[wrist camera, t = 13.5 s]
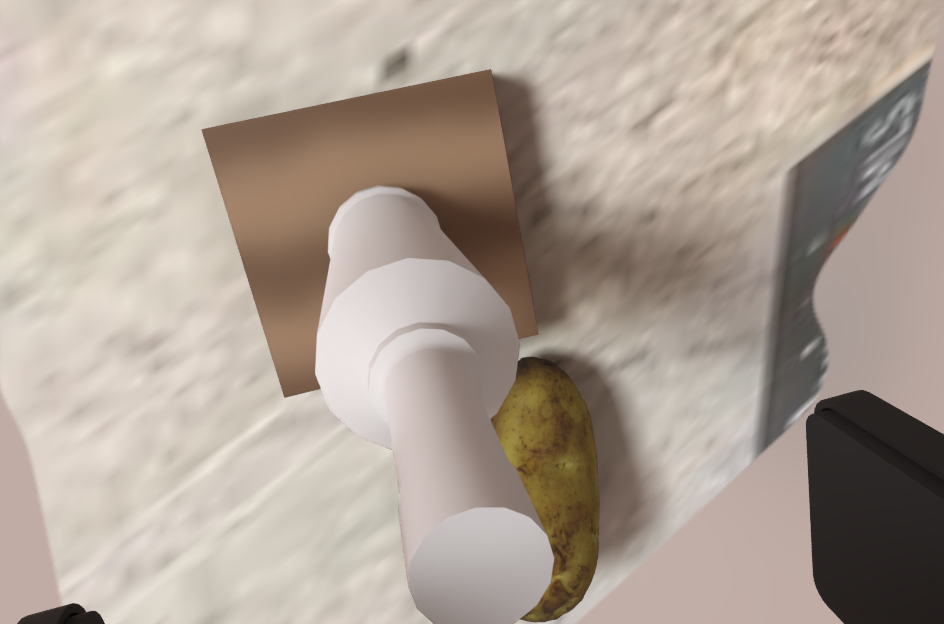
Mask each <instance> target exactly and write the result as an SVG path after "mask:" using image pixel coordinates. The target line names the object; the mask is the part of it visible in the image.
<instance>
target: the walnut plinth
mask: <svg viewBox="0 0 944 624" xmlns="http://www.w3.org/2000/svg"><path fill="white" fill-rule="evenodd" d="M202 133H203V136H204V139H205V142H206V146H207V149H208V152H209V155H210V158H211V162H212V165H213V168H214V171H215V175H216V178H217V181H218V184H219V188H220V191H221V194H222V197H223V200H224V204H225V207H226V210H227V213H228V217H229V220H230V223H231V226H232V230H233V233H234V236H235V239H236V242H237V246H238V249H239V252H240V255H241V259H242V262H243V265H244V268H245V272H246V275H247V278H248V281H249V284H250V288H251V291H252V294H253V297H254V301H255V304H256V307H257V310H258V314H259V317H260V320H261V323H262V326H263V330H264V333H265V336H266V339H267V343H268V346H269V349H270V352H271V356H272V359H273V362H274V365H275V368H276V372H277V375H278V378H279V381H280V385H281V388H282V391H283V394H284V398H286V397H290V396H294V395H298V394H302V393H306V392H310V391H314V390H318V389H321V387H320V385H319V382H318V380H317V377H316V375H315V365H316V343H317V331H318V326H319V320H320V315H321V309H322V304H323V298H324V292H325V287H326V281H327V276H328V270H329V264H330V256H329V254H328V239H329V227H330V225H331V223H332V221H333V219H334V217H335V215H336V213H337V211H338V209H339V207H340V206H341V205H342V204H343V203H344V202H345V201H347V200H348V199H349V198H350V197H351V196H352V195H354V194H355V193H356V192H358V191H361V190H364V189H367V188H370V187H373V186H376V185H383V186H394V187H401V188H403V189H405V190H407V191H409V192H411V193H413V194H415V195H417V196H419V197H420V198H422V200H423V201H424V202H425V203H426V204H427V206H428V207H429V208H430V209H431V210H432V211H433V213H434V214H435V215H436V216H437V219H438V222H439V225H440V229H441V230H442V231H443V233H444V234H445V235H446V236H447V237H448V238H449V239H450V240H451V241H452V243H453V244H454V245H455V246H456V247H457V248H458V249H459V250H460V251H461V252H462V254H463V255H464V256H465V257H466V258H467V259H468V260H469V261H470V262H471V264H472V265H473V266H474V267H475V268H476V269H477V270H478V271H479V272H480V274H481V275H482V276H483V277H484V278H485V279H486V280H487V282H488V283H489V284H490V285H491V286H492V287H493V289H494V290H495V291H496V292H497V293H498V295H499V296H500V297H501V298H502V299H503V301H504V302H505V303H506V304H507V305H508V306H509V308H510V311H511V314H512V318H513V321H514V324H515V328H516V331H517V335H518V338H519V339H521V338H525V337H529V336H533V335H537V334H538V329H537V323H536V318H535V312H534V306H533V301H532V295H531V290H530V284H529V278H528V273H527V267H526V262H525V256H524V250H523V245H522V239H521V233H520V228H519V222H518V217H517V211H516V205H515V200H514V194H513V189H512V183H511V177H510V172H509V166H508V161H507V155H506V149H505V144H504V138H503V133H502V127H501V121H500V116H499V110H498V105H497V99H496V93H495V88H494V82H493V77H492V71H491V69H490V70H485V71H480V72H475V73H471V74H466V75H461V76H456V77H451V78H447V79H442V80H437V81H432V82H427V83H422V84H418V85H413V86H408V87H403V88H398V89H394V90H389V91H384V92H379V93H374V94H370V95H365V96H360V97H355V98H350V99H346V100H341V101H336V102H331V103H326V104H322V105H317V106H312V107H307V108H302V109H298V110H293V111H288V112H283V113H278V114H273V115H269V116H264V117H259V118H254V119H249V120H245V121H240V122H235V123H230V124H225V125H221V126H216V127H211V128H206V129H202Z"/></svg>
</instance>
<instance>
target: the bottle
mask: <svg viewBox="0 0 944 624" xmlns="http://www.w3.org/2000/svg"><path fill="white" fill-rule="evenodd" d="M328 254H329V256H330V264H329V270H328V276H327V281H326V287H325V292H324V298H323V304H322V309H321V315H320V320H319V326H318V331H317V343H316V365H315V375H316V377H317V380H318V382H319V385H320V387H321V390H322V392H323V395H324V397H325V400H326V402H327V405H328V407H329V409H330V410H331V411H332V412H333V413H334V414H335V415H336V416H337V417H338V418H339V419H340V420H341V421H342V422H343V423H344V424H345V425H346V426H347V427H348V428H349V429H350V430H351V431H352V432H353V433H354V434H355V435H356V436H358V437H361V438H363V439H366V440H368V441H371V442H373V443H376V444H378V445H381V446H383V447H386V448H388V449H391V450H393V454H394V461H395V468H396V475H397V481H398V488H399V495H400V496H399V508H398V512H399V520H400V527H401V535H402V543H403V550H404V558H405V565H406V573H407V580H408V587H409V589H410V592H411V594H412V597H413V599H414V602H415V604H416V607H417V609H418V610H419V611H420V612H421V613H422V614H424V615H425V616H426V617H427V618H428V619H429V620H430V621H431V622H432V623H434V624H513V623H515V622H517V621H518V620H519V619H520V618H522V617H523V616H524V615H525V614H527V613H528V612H529V611H530V610H532V609H533V608H534V607H535V606H537V604H538V602H539V601H540V599H541V598H542V596H543V594H544V593H545V591H546V589H547V588H548V586H549V584H550V583H551V576H552V570H553V563H554V556H553V553H552V549H551V546H550V543H549V540H548V536H547V534H546V532H545V530H544V527H543V525H542V523H541V521H540V519H539V517H538V515H537V512H536V510H535V508H534V506H533V504H532V502H531V500H530V497H529V495H528V493H527V491H526V489H525V487H524V485H523V482H522V480H521V478H520V476H519V474H518V472H517V470H516V468H515V467H514V466H513V465H512V464H511V463H510V462H509V460H508V458H507V456H506V454H505V451H504V449H503V447H502V445H501V442H500V440H499V438H498V436H497V434H496V431H495V429H494V427H493V425H492V422H491V420H490V419H491V418H492V417H493V416H494V415H495V414H497V412H498V410H499V409H500V407H501V405H502V403H503V402H504V400H505V398H506V396H507V394H508V393H509V391H510V389H511V387H512V386H513V384H514V382H515V380H516V372H517V364H518V356H519V348H520V342H519V338H518V335H517V331H516V328H515V324H514V321H513V318H512V314H511V311H510V308H509V306H508V305H507V304H506V303H505V302H504V301H503V299H502V298H501V297H500V296H499V295H498V293H497V292H496V291H495V290H494V289H493V287H492V286H491V285H490V284H489V283H488V282H487V280H486V279H485V278H484V277H483V276H482V275H481V274H480V272H479V271H478V270H477V269H476V268H475V267H474V266H473V265H472V264H471V262H470V261H469V260H468V259H467V258H466V257H465V256H464V255H463V254H462V252H461V251H460V250H459V249H458V248H457V247H456V246H455V245H454V244H453V243H452V241H451V240H450V239H449V238H448V237H447V236H446V235H445V234H444V233H443V231H442V230H441V229H440V225H439V222H438V219H437V216H436V215H435V214H434V213H433V211H432V210H431V209H430V208H429V207H428V206H427V204H426V203H425V202H424V201H423V200H422V198H420V197H419V196H417V195H415V194H413V193H411V192H409V191H407V190H405V189H403V188H401V187H394V186H383V185H376V186H373V187H370V188H367V189H364V190H361V191H358V192H356V193H355V194H354V195H352V196H351V197H350V198H349V199H348V200H347V201H345V202H344V203H343V204H342V205H341V206H340V207H339V209H338V211H337V213H336V215H335V217H334V219H333V221H332V223H331V225H330V227H329V239H328Z"/></svg>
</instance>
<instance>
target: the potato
mask: <svg viewBox="0 0 944 624" xmlns="http://www.w3.org/2000/svg"><path fill="white" fill-rule="evenodd" d="M490 420H491V422H492V425H493V427H494V429H495V431H496V434H497V436H498V438H499V440H500V442H501V445H502V447H503V449H504V451H505V454H506V456H507V458H508V460H509V462H510V463H511V464H512V465H513V466H514V467H515V468H516V470H517V472H518V474H519V476H520V478H521V480H522V482H523V485H524V487H525V489H526V491H527V493H528V495H529V497H530V500H531V502H532V504H533V506H534V508H535V510H536V512H537V515H538V517H539V519H540V521H541V523H542V525H543V527H544V530H545V532H546V534H547V536H548V540H549V543H550V546H551V549H552V553H553V556H554V563H553V570H552V576H551V583H550V584H549V586H548V588H547V589H546V591H545V593H544V594H543V596H542V598H541V599H540V601H539V602H538V604H537V606H535V607H534V608H533V609H532V610H530V611H529V612H528V613H527V614H525V615H524V616H523V617H522V618H520V620H525V621H529V622H546V621H550V620H555V619H558V618H559V617H560V616H562V615H563V614H565V613H567V612H569V611H571V610H572V609H573V608H574V607H575V606H576V605H577V604H578V603H579V602H581V601H582V599H583V597H584V595H585V593H586V591H587V589H588V588H589V586H590V584H591V581H592V579H593V576H594V573H595V569H596V565H597V559H598V547H599V539H598V536H599V490H598V473H597V469H598V468H597V454H596V447H595V439H594V433H593V427H592V422H591V418H590V414H589V411H588V408H587V406H586V404H585V402H584V400H583V398H582V396H581V395H580V393H579V391H578V389H577V388H576V386H575V384H574V383H573V381H572V380H571V379H570V377H569V376H568V375H567V374H566V373H565V372H564V371H563V370H561V369H560V368H559V367H558V366H557V365H556V364H554V363H553V362H551V361H548V360H543V359H539V358H535V357H525V358H521V359H520V360H519V361H518V364H517V372H516V380H515V382H514V384H513V386H512V387H511V389H510V391H509V393H508V394H507V396H506V398H505V400H504V402H503V403H502V405H501V407H500V409H499V410H498V412H497V414H495V415H494V416H493V417H492V418H491V419H490Z"/></svg>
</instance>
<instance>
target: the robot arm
mask: <svg viewBox="0 0 944 624" xmlns="http://www.w3.org/2000/svg"><path fill="white" fill-rule="evenodd" d="M806 438H807V458H808V478H809V499H810V500H809V501H810V522H811V542H812V562H813V577H814V582H815V585H816V588H817V590H818V593H819V595H820V596H821V598H822V600H823V601H824V602H825V603H826V605H827V606H828V607H829V608H830V609H831V610H832V611H833V612H834V613H835V614H836V616H837V617H838V618H839V619H840V620H841V621H842V622H843V623H844V624H944V434H942V433H940V432H938V431H937V430H935V429H933V428H932V427H930V426H928V425H926V424H924V423H923V422H921V421H919V420H917V419H915V418H914V417H912V416H910V415H908V414H907V413H905V412H903V411H901V410H900V409H898V408H896V407H894V406H893V405H891V404H889V403H887V402H886V401H884V400H882V399H880V398H878V397H877V396H875V395H873V394H871V393H870V392H867V391H864V390H858V391H854V392H850V393H846V394H842V395H839V396H835V397H832V398H828V399H824V400H821V401H820V402H819V403H817V405H816V407H815V411H814V414H811V415H810V416H808V418H807V421H806ZM17 624H105V623H104V621H103V619H102V617H101V616H100V614H99V613H97V612H96V611H89V612H86V611H85V609H84V608H83V607H82V606H80V605H79V604H75V603H72V604H68V605H65V606H61V607H57V608H54V609H50V610H46V611H43V612H39V613H35V614H32V615H28V616H26V617H24V618H22V619H21V620H20V621H19V622H18V623H17Z"/></svg>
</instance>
